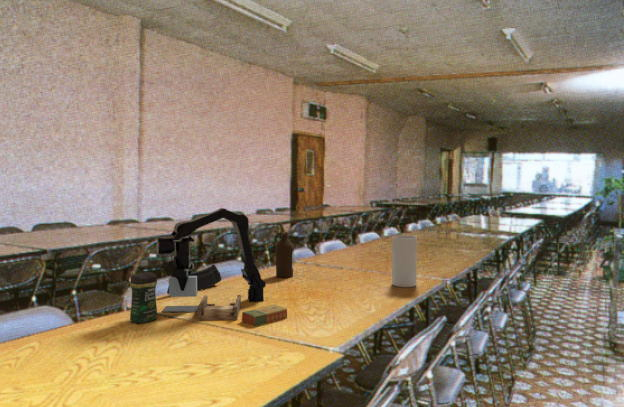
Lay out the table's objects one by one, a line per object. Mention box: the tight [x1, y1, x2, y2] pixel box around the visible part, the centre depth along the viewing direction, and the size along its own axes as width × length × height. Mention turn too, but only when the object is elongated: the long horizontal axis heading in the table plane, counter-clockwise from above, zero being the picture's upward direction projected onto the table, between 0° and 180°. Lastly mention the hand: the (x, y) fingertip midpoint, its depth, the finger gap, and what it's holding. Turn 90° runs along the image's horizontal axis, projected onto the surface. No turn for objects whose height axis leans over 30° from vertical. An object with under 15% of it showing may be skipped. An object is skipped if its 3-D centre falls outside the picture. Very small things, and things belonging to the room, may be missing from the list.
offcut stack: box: [203, 305, 234, 316], centre depth 188 cm, size 12×6×4 cm, turn 95°
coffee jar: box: [129, 271, 158, 324], centre depth 181 cm, size 10×8×19 cm
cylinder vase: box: [391, 234, 418, 288], centre depth 243 cm, size 12×12×25 cm
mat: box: [160, 304, 199, 313], centre depth 197 cm, size 16×9×1 cm, turn 95°
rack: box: [196, 294, 242, 321], centre depth 192 cm, size 15×19×5 cm
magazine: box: [166, 264, 222, 295], centre depth 229 cm, size 17×3×30 cm
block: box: [168, 275, 198, 298], centre depth 197 cm, size 11×3×8 cm, turn 95°
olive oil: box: [274, 231, 295, 279], centre depth 263 cm, size 11×11×25 cm
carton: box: [241, 304, 288, 327], centre depth 183 cm, size 8×16×4 cm, turn 133°
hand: (183, 289), depth 197 cm, fingers closed on block, 3 cm apart
